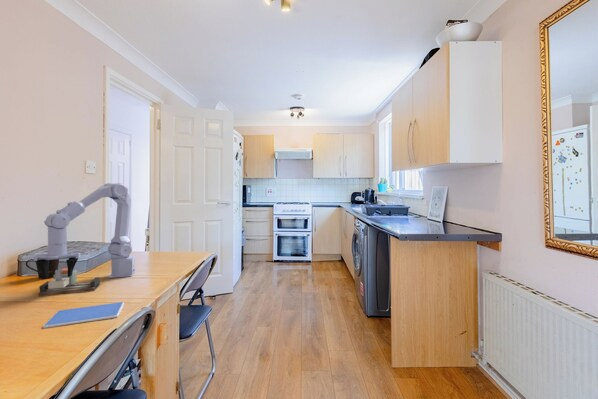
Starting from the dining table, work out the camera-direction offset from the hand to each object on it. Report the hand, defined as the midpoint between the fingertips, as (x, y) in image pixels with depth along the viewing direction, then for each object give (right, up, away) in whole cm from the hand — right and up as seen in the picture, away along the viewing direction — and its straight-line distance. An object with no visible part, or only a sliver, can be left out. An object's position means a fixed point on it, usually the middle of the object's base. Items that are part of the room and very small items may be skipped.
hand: (58, 277), depth 113 cm
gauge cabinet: (-4, -5, +8) cm, 11 cm away
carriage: (0, -4, 0) cm, 4 cm away
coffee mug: (-21, -5, +18) cm, 28 cm away
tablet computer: (+27, -8, -20) cm, 35 cm away
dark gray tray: (+4, -6, +2) cm, 7 cm away
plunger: (-4, -3, +8) cm, 10 cm away
